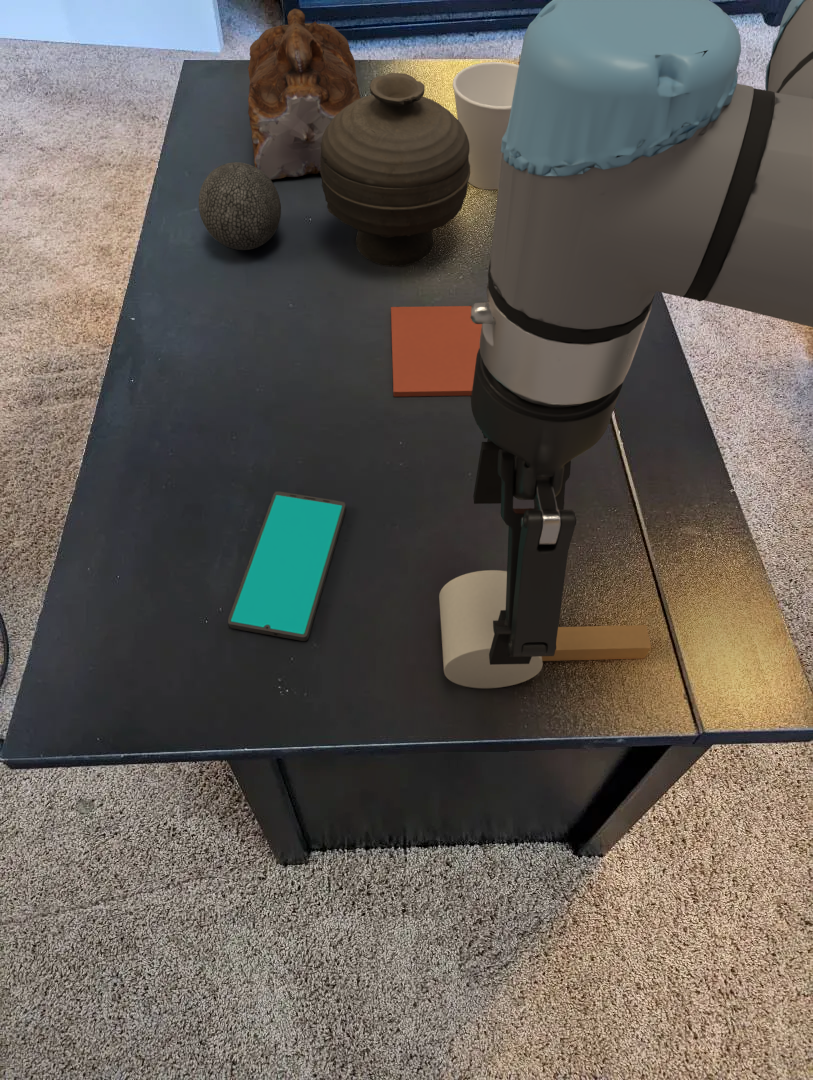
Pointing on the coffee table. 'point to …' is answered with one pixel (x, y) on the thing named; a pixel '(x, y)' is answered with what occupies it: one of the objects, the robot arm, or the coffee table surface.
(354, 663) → the coffee table surface
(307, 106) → the sculpture
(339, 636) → the coffee table surface
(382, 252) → the pot
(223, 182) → the decorative ball
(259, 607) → the smartphone
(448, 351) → the mat
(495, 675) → the mallet
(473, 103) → the cup
